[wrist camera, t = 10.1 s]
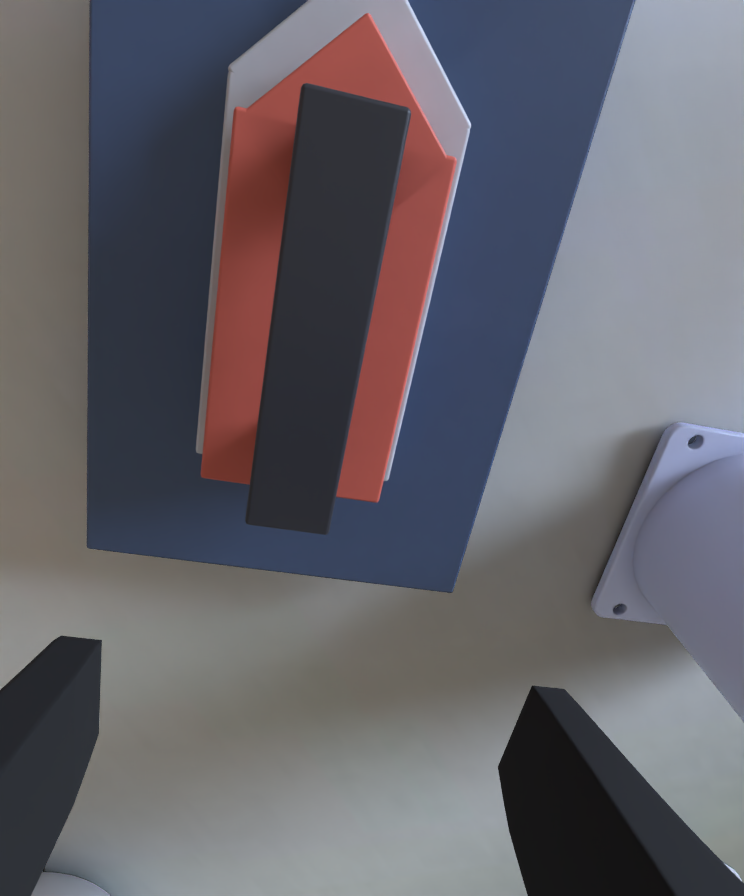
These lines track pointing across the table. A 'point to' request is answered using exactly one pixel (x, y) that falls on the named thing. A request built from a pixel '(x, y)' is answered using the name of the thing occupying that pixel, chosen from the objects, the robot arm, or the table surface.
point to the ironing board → (190, 257)
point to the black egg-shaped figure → (65, 886)
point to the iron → (324, 255)
